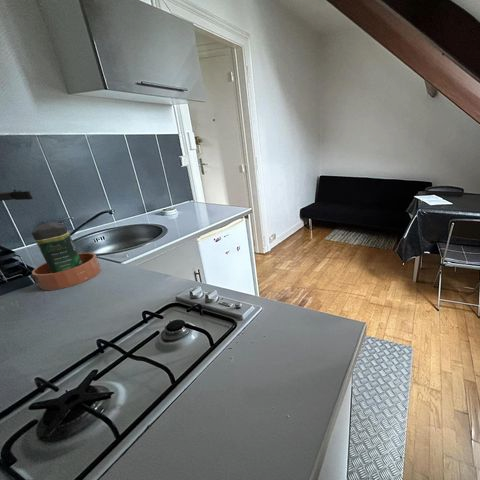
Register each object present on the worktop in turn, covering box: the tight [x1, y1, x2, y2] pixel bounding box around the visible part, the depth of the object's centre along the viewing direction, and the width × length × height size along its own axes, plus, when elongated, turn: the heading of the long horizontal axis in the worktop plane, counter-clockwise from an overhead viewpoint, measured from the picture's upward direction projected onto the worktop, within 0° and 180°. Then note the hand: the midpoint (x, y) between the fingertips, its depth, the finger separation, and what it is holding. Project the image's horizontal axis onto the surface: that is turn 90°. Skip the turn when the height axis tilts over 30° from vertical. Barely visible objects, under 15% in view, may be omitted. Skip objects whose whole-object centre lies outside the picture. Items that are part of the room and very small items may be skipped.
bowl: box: [31, 252, 102, 291], centre depth 89 cm, size 16×16×6 cm
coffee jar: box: [31, 221, 83, 273], centre depth 86 cm, size 10×8×19 cm
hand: (5, 200), depth 84 cm, fingers open, 13 cm apart
